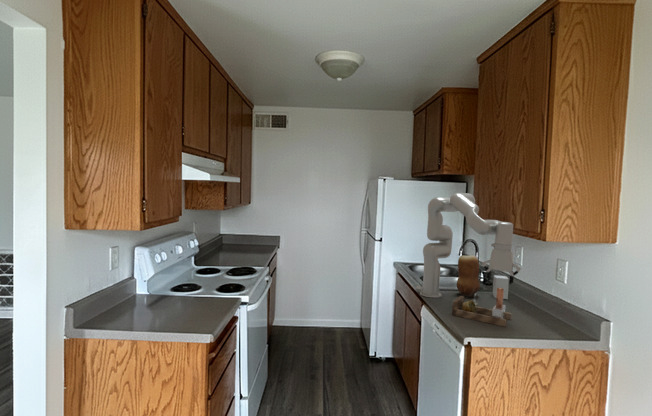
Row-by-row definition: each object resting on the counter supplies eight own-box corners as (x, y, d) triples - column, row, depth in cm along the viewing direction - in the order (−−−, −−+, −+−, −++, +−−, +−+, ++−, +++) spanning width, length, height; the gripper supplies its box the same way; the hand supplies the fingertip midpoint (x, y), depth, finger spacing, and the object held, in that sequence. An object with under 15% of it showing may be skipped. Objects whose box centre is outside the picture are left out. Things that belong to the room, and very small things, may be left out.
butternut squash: (456, 292, 238) (458, 252, 236) (479, 295, 232) (482, 254, 231) (455, 297, 225) (457, 255, 224) (479, 300, 220) (481, 258, 218)
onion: (475, 312, 196) (476, 297, 196) (478, 317, 189) (479, 302, 188) (460, 311, 198) (460, 296, 198) (462, 316, 190) (463, 300, 190)
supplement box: (505, 296, 232) (506, 276, 231) (507, 299, 225) (509, 278, 224) (492, 295, 234) (493, 274, 233) (494, 298, 227) (495, 277, 226)
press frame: (452, 314, 191) (452, 301, 191) (459, 308, 203) (460, 295, 202) (505, 326, 177) (506, 312, 177) (510, 319, 188) (511, 305, 188)
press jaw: (491, 320, 182) (493, 289, 182) (496, 315, 191) (498, 285, 190) (500, 322, 180) (502, 291, 179) (504, 316, 188) (506, 287, 188)
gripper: (482, 245, 186) (479, 279, 187) (521, 250, 176) (518, 286, 177) (485, 244, 192) (482, 277, 193) (523, 249, 182) (520, 283, 183)
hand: (499, 281), depth 185 cm, fingers open, 9 cm apart
